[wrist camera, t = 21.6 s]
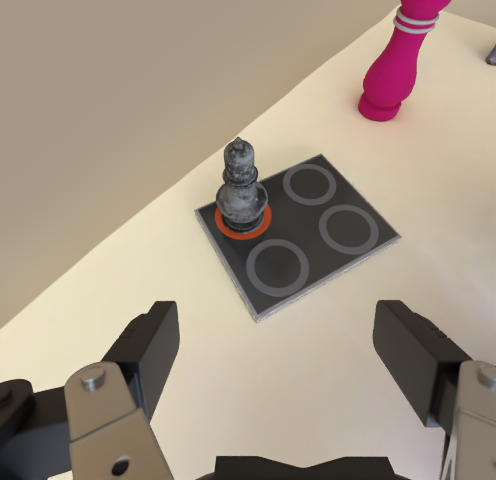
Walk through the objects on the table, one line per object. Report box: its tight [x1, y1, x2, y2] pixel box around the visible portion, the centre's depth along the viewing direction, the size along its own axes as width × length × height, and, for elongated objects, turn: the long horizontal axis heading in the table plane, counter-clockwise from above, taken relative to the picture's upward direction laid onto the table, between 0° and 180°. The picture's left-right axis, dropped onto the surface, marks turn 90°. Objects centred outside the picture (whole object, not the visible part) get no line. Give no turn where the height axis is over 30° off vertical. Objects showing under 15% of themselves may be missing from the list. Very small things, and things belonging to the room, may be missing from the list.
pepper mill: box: [358, 0, 451, 121], centre depth 38 cm, size 7×7×20 cm
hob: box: [194, 154, 402, 323], centre depth 35 cm, size 20×16×2 cm
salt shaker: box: [216, 137, 268, 234], centre depth 30 cm, size 6×6×12 cm
